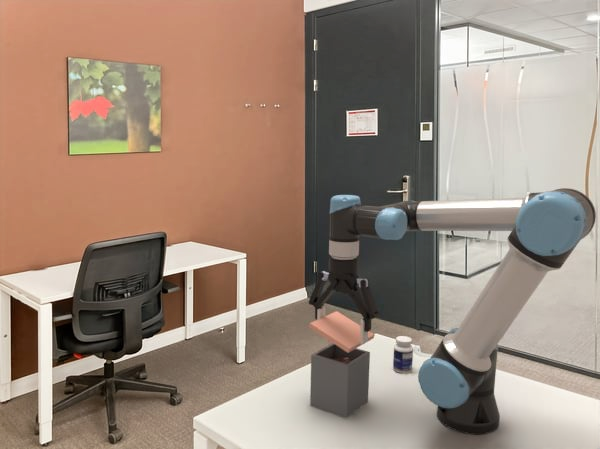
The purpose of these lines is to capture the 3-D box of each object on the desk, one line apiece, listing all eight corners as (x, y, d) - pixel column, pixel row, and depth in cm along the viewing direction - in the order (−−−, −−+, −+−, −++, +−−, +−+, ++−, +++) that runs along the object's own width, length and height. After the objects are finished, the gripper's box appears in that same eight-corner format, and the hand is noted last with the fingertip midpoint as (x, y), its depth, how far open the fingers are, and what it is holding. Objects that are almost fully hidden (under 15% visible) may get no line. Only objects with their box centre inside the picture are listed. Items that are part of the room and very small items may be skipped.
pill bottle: (389, 367, 172) (391, 336, 171) (406, 365, 174) (408, 334, 172) (398, 374, 167) (399, 343, 165) (415, 372, 169) (417, 341, 167)
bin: (368, 401, 150) (369, 352, 148) (346, 418, 141) (348, 365, 139) (332, 390, 157) (334, 342, 154) (310, 405, 148) (311, 354, 145)
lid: (372, 341, 148) (374, 334, 147) (346, 356, 138) (349, 348, 137) (334, 317, 154) (336, 311, 153) (307, 330, 144) (309, 323, 143)
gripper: (394, 260, 138) (391, 343, 142) (312, 247, 152) (311, 323, 156) (380, 266, 132) (377, 352, 136) (296, 252, 146) (295, 331, 150)
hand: (342, 337), depth 146 cm, fingers closed on lid, 12 cm apart
